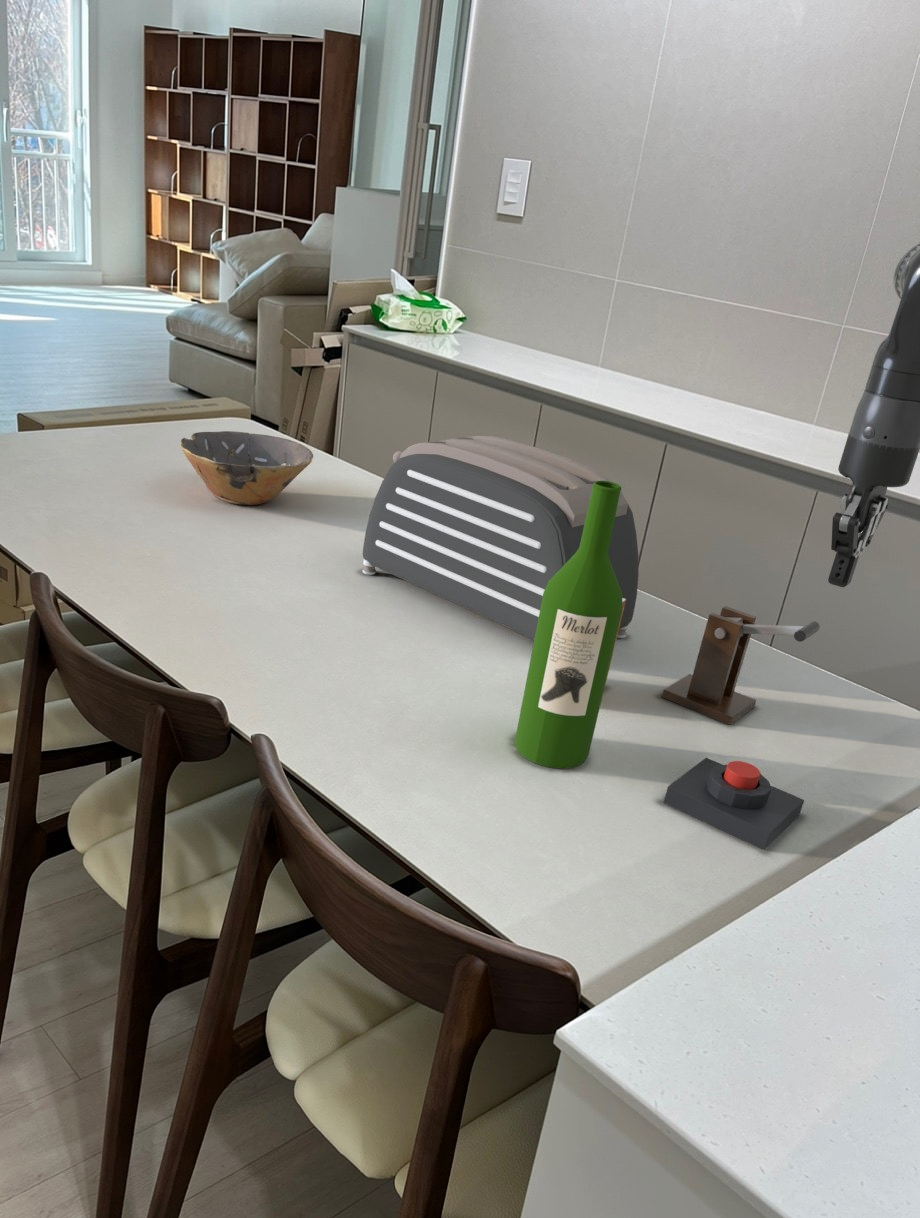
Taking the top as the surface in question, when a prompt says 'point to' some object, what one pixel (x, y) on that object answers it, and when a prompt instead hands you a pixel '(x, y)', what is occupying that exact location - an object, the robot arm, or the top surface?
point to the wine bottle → (573, 645)
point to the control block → (734, 804)
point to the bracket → (717, 670)
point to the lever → (780, 629)
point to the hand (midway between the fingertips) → (838, 583)
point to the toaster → (490, 526)
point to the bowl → (245, 464)
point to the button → (742, 775)
